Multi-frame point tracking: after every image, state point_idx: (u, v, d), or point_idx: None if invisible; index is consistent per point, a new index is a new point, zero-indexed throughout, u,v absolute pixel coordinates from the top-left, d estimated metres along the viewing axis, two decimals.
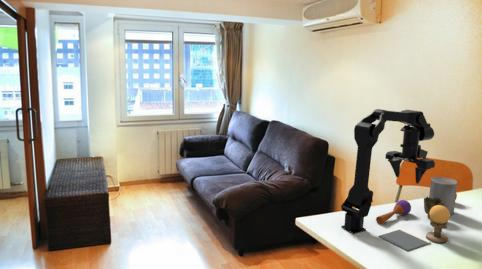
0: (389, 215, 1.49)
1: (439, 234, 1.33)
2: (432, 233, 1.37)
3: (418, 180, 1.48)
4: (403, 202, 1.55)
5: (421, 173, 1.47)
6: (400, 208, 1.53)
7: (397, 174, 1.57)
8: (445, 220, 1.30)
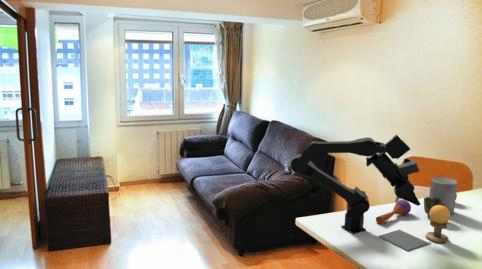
0: (389, 215, 1.49)
1: (439, 234, 1.33)
2: (432, 233, 1.37)
3: (415, 203, 1.30)
4: (403, 202, 1.55)
5: (411, 196, 1.29)
6: (399, 208, 1.53)
7: None
8: (445, 220, 1.30)
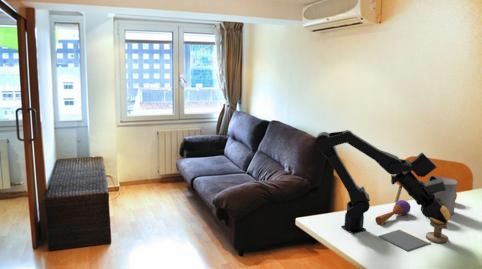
0: (388, 215, 1.49)
1: (439, 234, 1.33)
2: (432, 233, 1.37)
3: (442, 220, 1.29)
4: (402, 202, 1.55)
5: (438, 213, 1.29)
6: (399, 208, 1.53)
7: None
8: None
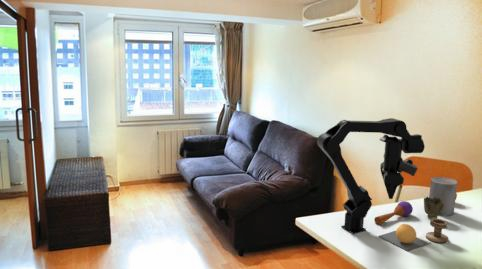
0: (388, 216, 1.48)
1: (439, 234, 1.33)
2: (432, 233, 1.37)
3: (390, 195, 1.36)
4: (404, 203, 1.54)
5: (392, 188, 1.35)
6: (400, 209, 1.52)
7: None
8: None
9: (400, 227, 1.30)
